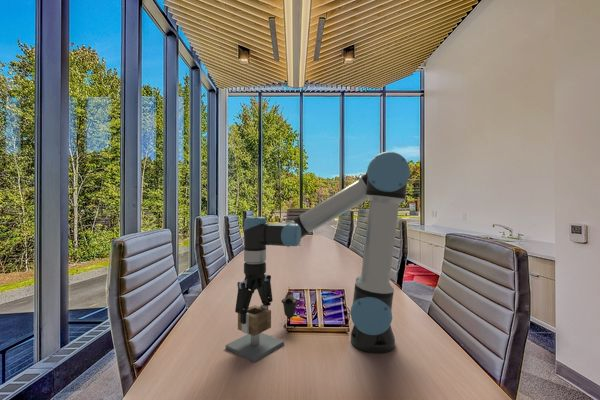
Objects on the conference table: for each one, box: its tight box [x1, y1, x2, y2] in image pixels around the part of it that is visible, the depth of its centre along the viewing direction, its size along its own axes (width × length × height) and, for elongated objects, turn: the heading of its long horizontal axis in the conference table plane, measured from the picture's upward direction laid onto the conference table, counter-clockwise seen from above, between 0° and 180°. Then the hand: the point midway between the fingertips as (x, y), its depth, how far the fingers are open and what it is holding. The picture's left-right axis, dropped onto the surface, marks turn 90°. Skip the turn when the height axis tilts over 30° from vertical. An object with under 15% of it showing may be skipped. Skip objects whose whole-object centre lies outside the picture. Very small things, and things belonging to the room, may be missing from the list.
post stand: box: [225, 332, 285, 363], centre depth 102 cm, size 14×14×9 cm
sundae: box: [281, 287, 299, 329], centre depth 118 cm, size 7×7×15 cm
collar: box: [237, 304, 272, 336], centre depth 102 cm, size 8×8×6 cm
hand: (254, 327), depth 102 cm, fingers closed on collar, 8 cm apart
